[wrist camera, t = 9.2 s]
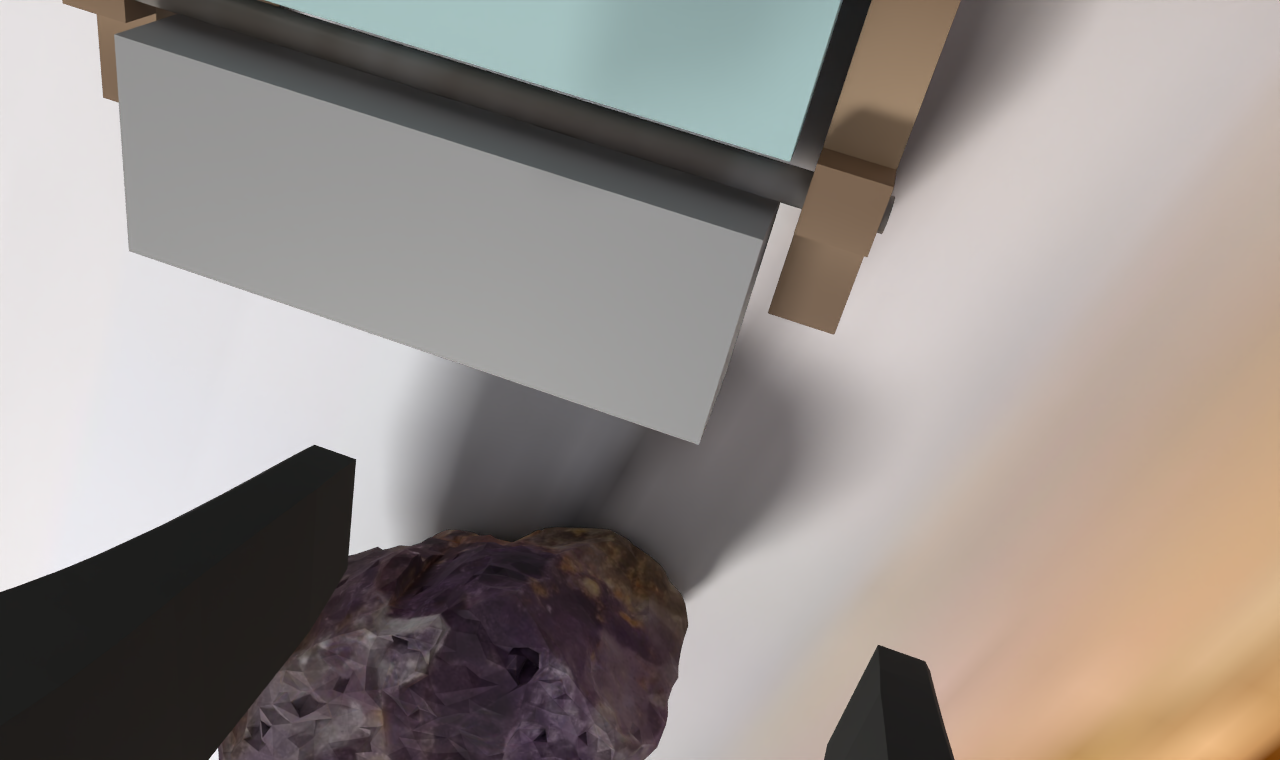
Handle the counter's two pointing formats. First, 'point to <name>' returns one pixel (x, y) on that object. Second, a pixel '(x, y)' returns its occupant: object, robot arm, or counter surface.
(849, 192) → the frame
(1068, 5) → the counter surface
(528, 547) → the rock
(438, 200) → the trapdoor
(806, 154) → the counter surface
